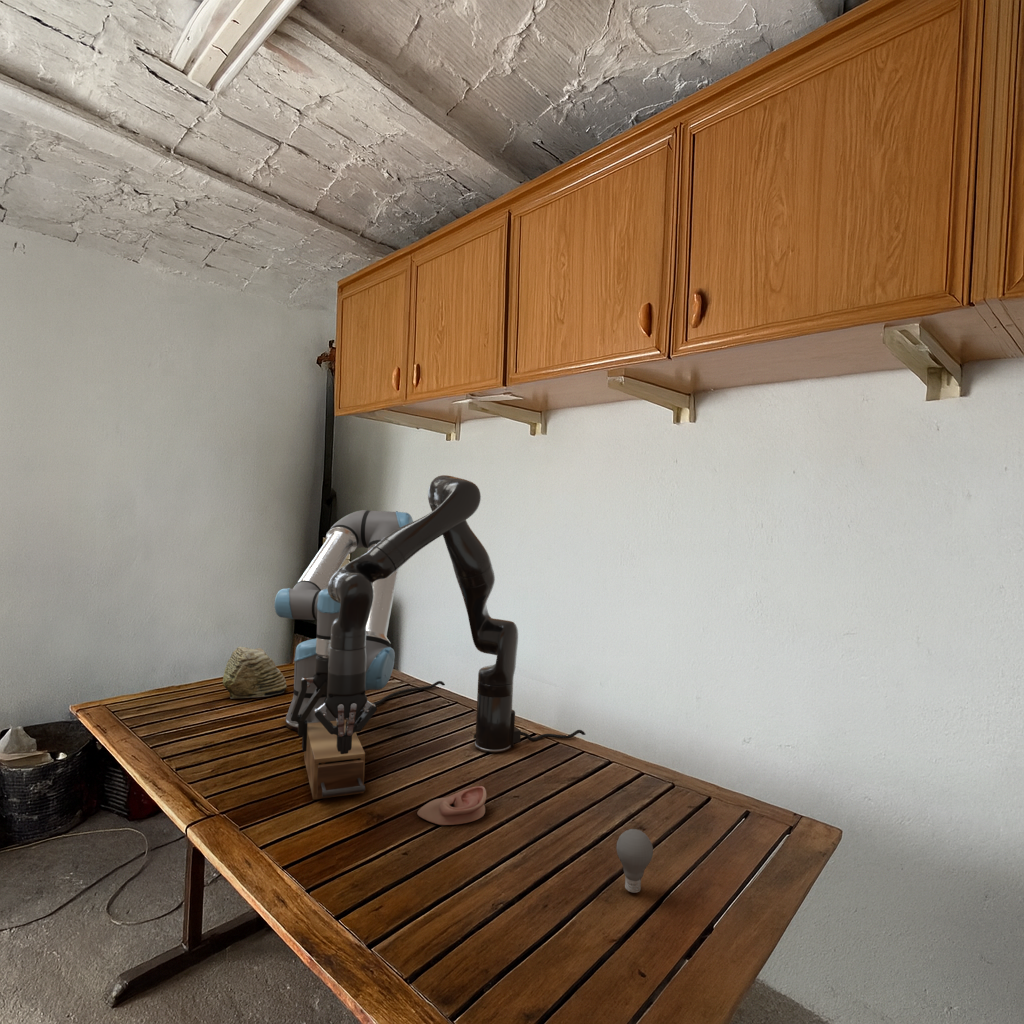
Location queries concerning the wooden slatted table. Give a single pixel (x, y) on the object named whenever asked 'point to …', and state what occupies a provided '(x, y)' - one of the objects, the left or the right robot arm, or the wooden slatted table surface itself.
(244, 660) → the fossil
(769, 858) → the wooden slatted table surface
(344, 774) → the drawer
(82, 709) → the wooden slatted table surface
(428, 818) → the anatomical model
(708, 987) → the wooden slatted table surface
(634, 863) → the light bulb
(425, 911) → the wooden slatted table surface
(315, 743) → the cabinet
